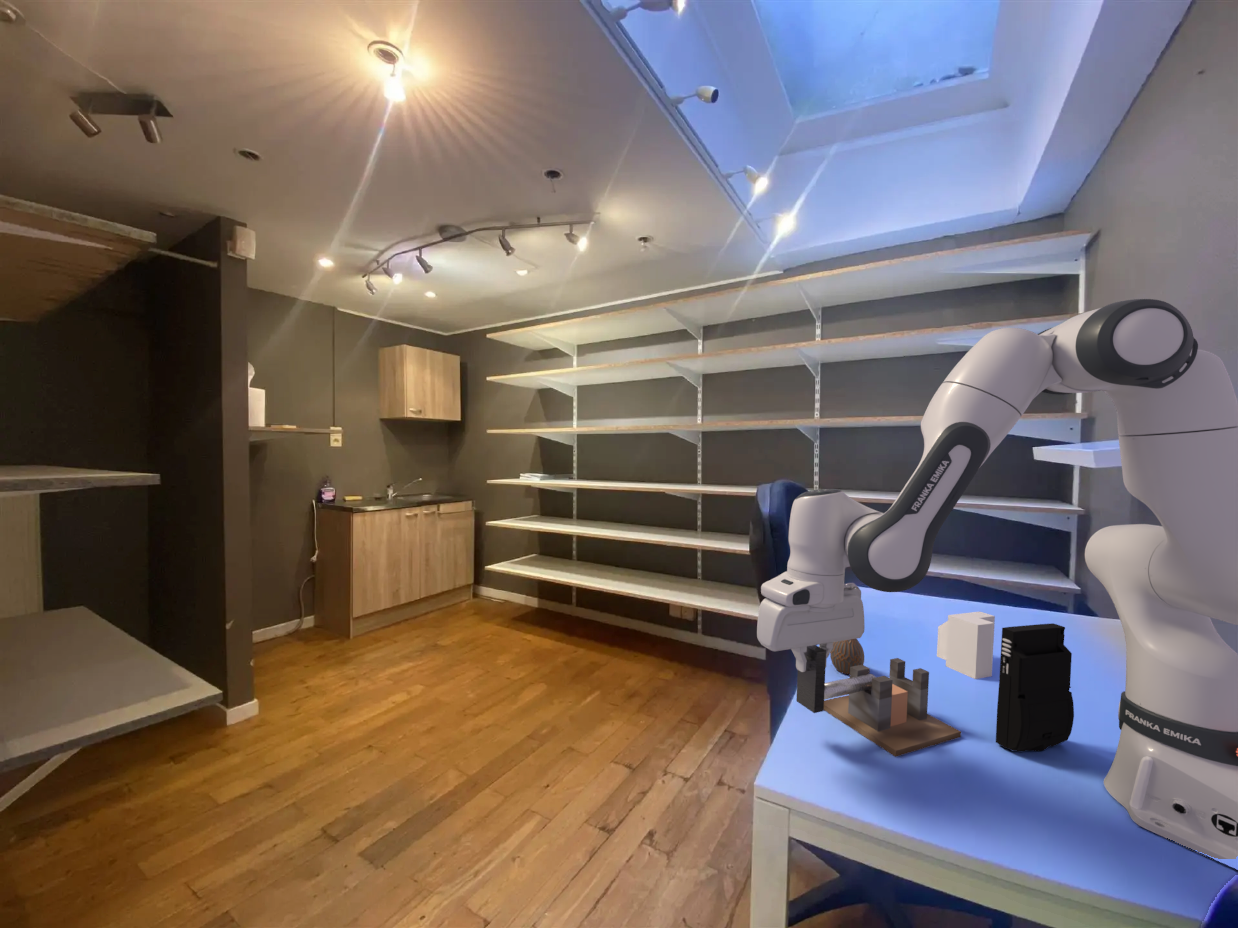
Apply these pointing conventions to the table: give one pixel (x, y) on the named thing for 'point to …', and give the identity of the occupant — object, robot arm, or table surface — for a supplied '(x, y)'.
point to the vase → (847, 655)
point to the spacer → (898, 705)
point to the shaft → (814, 686)
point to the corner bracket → (967, 643)
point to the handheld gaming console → (1034, 688)
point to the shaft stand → (874, 711)
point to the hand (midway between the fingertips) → (810, 668)
